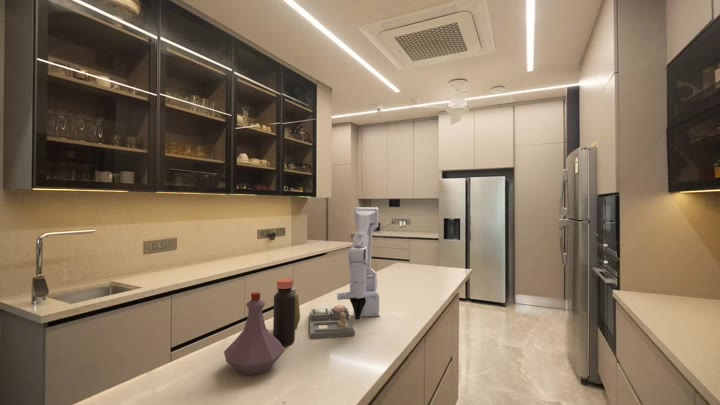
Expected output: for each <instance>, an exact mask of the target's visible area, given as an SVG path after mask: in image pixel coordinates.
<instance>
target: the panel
mask: <svg viewBox="0 0 720 405" xmlns="http://www.w3.org/2000/svg"><path fill="white" fill-rule="evenodd" d="M316 309H317V308H312V309H311V310H310V312H308V314H309V319H308V320H309V335H310V336H309V337H310V339H321V338H324V339H325V338H339V337H355V335H356V333H355V332H356V330H355V328H354V327H353V326H354V325H353V324H352V321H351V319H350V312H349V310H348V307H345V315H346V322H347V325H348V327H339V325H338V322H340V314H335V313H334V307H332V308H330V311H329V308H324V309H325V310H326V314H317V315H314V311H315V310H316Z"/></svg>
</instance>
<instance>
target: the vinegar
mask: <svg viewBox="0 0 720 405" xmlns="http://www.w3.org/2000/svg"><path fill="white" fill-rule="evenodd" d="M293 284H294V283H293V279H292V278H291V279H288V278H281V279H280V278H279V279H278V280H277V281H276V290H277V292H276V293H275V294H274V295H273V320H272V321H273V324H272V325H273V329H272V330H273V331H272V332H273V334H272V335H273V336H274V337H275V338H276V339H277V340H278V341H279V342H280V343H281V344H282V346H283V347H287V346H291V345H293V344H294V343H295V341H296V340H295V339H296V338H295V337H296V329H295V294H294V293H293V292H292V291H291V289H292V287H294V285H293Z"/></svg>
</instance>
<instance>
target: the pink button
mask: <svg viewBox="0 0 720 405" xmlns="http://www.w3.org/2000/svg"><path fill="white" fill-rule="evenodd" d="M333 308H334V313H335V314H340V312H345V308H346V306H345V305H335V306H333Z"/></svg>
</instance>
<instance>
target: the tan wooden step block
mask: <svg viewBox="0 0 720 405" xmlns="http://www.w3.org/2000/svg"><path fill="white" fill-rule="evenodd" d="M338 325H339V327H348V325H347V322H346V315H345V312H340V322H338Z"/></svg>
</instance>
